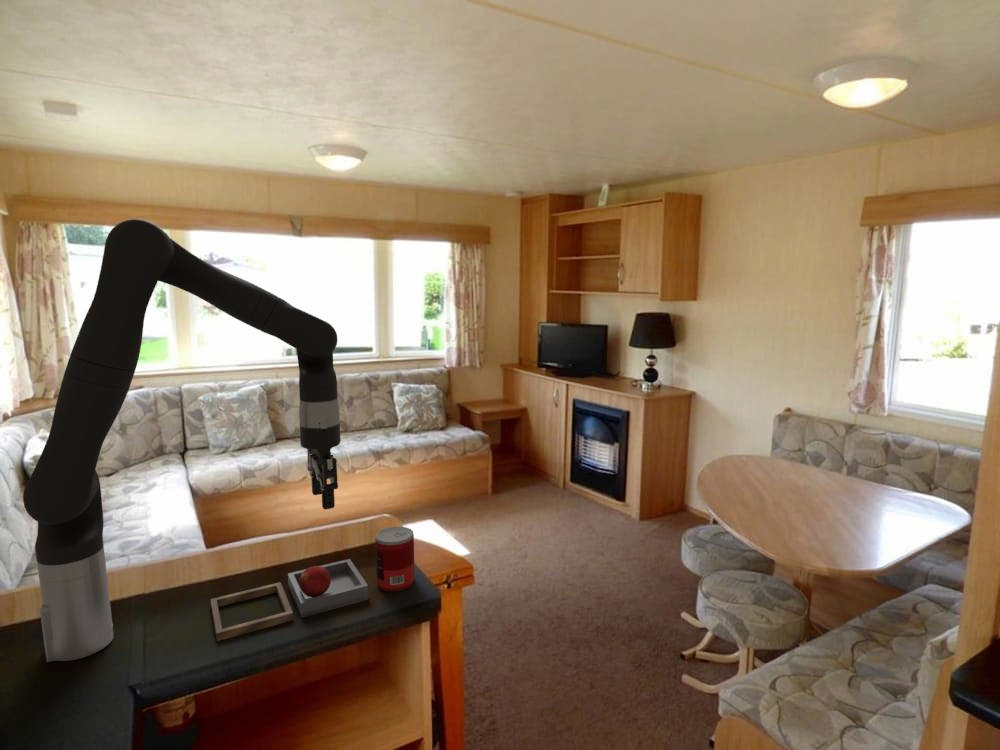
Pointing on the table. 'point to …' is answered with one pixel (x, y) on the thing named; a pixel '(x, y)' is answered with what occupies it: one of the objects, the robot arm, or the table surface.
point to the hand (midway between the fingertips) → (323, 501)
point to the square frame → (254, 624)
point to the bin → (331, 589)
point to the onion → (315, 581)
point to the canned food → (394, 558)
